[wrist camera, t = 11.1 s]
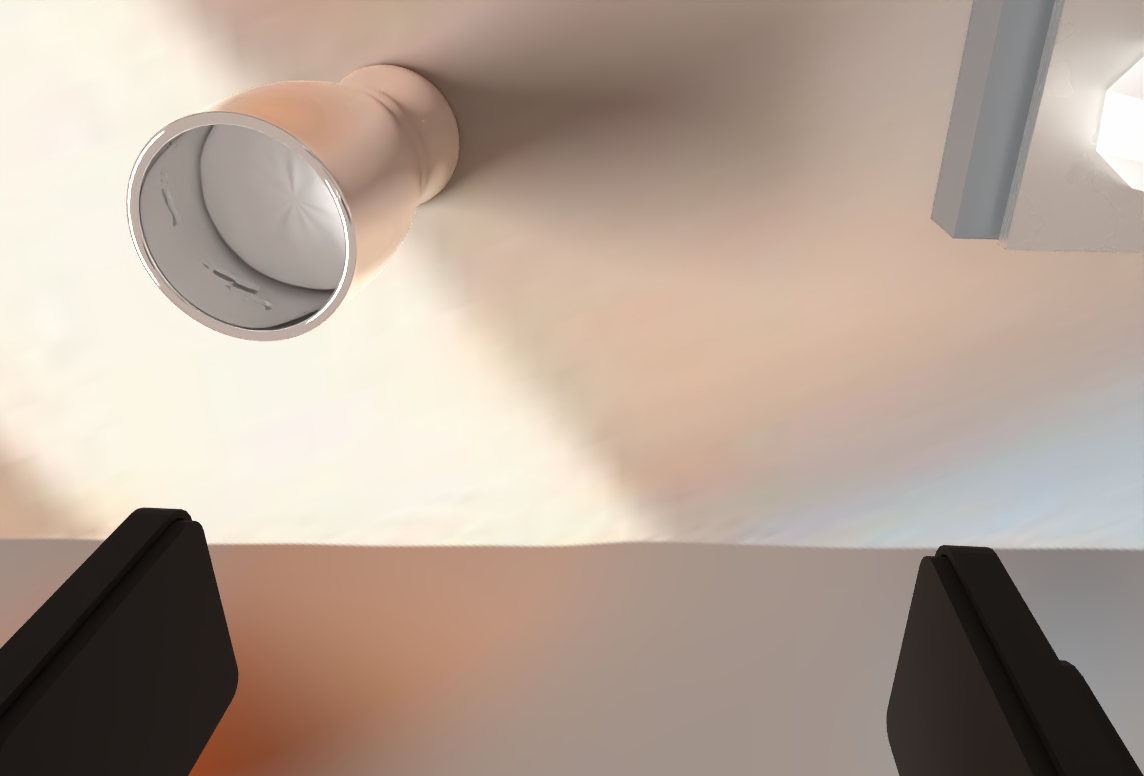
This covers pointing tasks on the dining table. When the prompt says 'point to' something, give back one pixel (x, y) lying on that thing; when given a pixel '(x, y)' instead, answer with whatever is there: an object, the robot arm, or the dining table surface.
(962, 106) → the scale base
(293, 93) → the beer glass
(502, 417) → the dining table surface
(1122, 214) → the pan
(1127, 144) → the pepper shaker
